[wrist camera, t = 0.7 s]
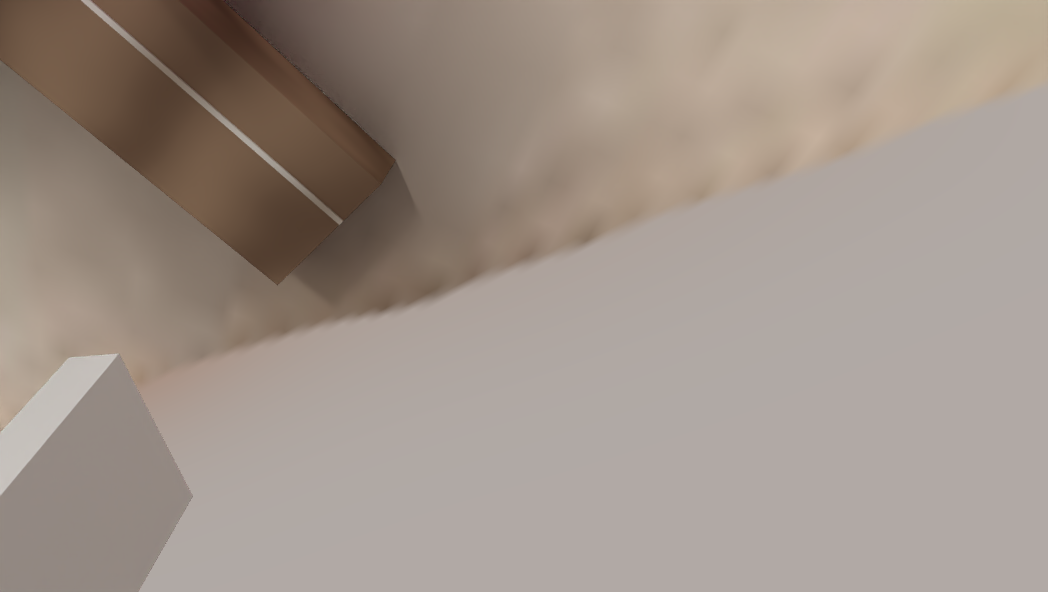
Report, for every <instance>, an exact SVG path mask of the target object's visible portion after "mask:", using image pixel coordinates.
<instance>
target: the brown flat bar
mask: <svg viewBox="0 0 1048 592" xmlns="http://www.w3.org/2000/svg"><path fill="white" fill-rule="evenodd" d="M0 60H1V61H2V62H4V63H5V64H6V65H7V66H9V67H10V68H11V69H12V70H14V71H15V72H16V73H17V74H18V75H20V76H21V77H22V78H23V79H25V80H26V81H27V82H28V83H30V84H31V85H32V86H33V87H34V88H36V89H37V90H38V91H39V92H41V93H42V94H43V95H44V96H46V97H47V98H48V99H49V100H50V101H52V102H53V103H54V104H55V105H57V106H58V107H59V108H60V109H61V110H63V111H64V112H65V113H66V114H68V115H69V116H70V117H71V118H73V119H74V120H75V121H76V122H77V123H79V124H80V125H81V126H82V127H84V128H85V129H86V130H87V131H89V132H90V133H91V134H92V135H93V136H95V137H96V138H97V139H98V140H100V141H101V142H102V143H103V144H105V145H106V146H107V147H108V148H109V149H111V150H112V151H113V152H114V153H116V154H117V155H118V156H119V157H121V158H122V159H123V160H124V161H125V162H127V163H128V164H129V165H130V166H132V167H133V168H134V169H135V170H137V171H138V172H139V173H140V174H141V175H143V176H144V177H145V178H146V179H148V180H149V181H150V182H151V183H153V184H154V185H155V186H156V187H157V188H159V189H160V190H161V191H162V192H164V193H165V194H166V195H167V196H169V197H170V198H171V199H172V200H173V201H175V202H176V203H177V204H178V205H180V206H181V207H182V208H183V209H184V210H186V211H187V212H188V213H189V214H191V215H192V216H193V217H194V218H196V219H197V220H198V221H199V222H200V223H202V224H203V225H204V226H205V227H207V228H208V229H209V230H210V231H212V232H213V233H214V234H215V235H216V236H218V237H219V238H220V239H221V240H223V241H224V242H225V243H226V244H228V245H229V246H230V247H231V248H232V249H234V250H235V251H236V252H237V253H239V254H240V255H241V256H242V257H244V258H245V259H246V260H247V261H248V262H250V263H251V264H252V265H253V266H255V267H256V268H257V269H258V270H260V271H261V272H262V273H263V274H264V275H266V276H267V277H268V278H269V279H271V280H272V281H273V282H274V283H276V284H277V285H278V284H279V283H280V282H281V281H282V280H283V279H284V278H285V277H286V276H287V275H288V274H290V273H291V272H292V271H293V270H294V269H295V268H296V267H297V266H298V265H299V264H300V263H301V262H302V261H303V260H304V259H305V258H306V257H307V256H308V255H309V254H310V253H311V252H312V251H313V250H314V249H315V248H316V247H317V246H318V245H319V244H320V243H321V242H322V241H323V240H324V239H325V238H326V237H327V236H328V235H329V234H330V233H331V232H333V231H334V230H335V229H336V228H337V227H338V226H339V225H340V224H341V223H342V222H343V221H344V220H345V219H346V218H347V217H348V216H349V215H350V214H351V213H352V212H353V211H354V210H355V209H356V208H357V207H358V206H359V205H360V204H361V203H362V202H363V201H364V200H365V199H366V198H367V197H368V196H369V195H370V194H371V193H372V192H373V191H375V190H376V189H377V188H378V187H379V186H380V185H381V183H382V182H383V180H384V178H385V177H386V175H387V173H388V172H389V170H390V169H391V167H392V165H393V164H394V162H395V160H394V159H393V158H392V157H391V156H390V155H389V154H388V153H387V152H386V151H385V150H384V149H383V148H382V147H380V146H379V145H378V144H377V143H376V142H375V141H374V140H373V139H372V138H371V137H370V136H369V135H368V134H366V133H365V132H364V131H363V130H362V129H361V128H360V127H359V126H358V125H357V124H356V123H355V122H353V121H352V120H351V119H350V118H349V117H348V116H347V115H346V114H345V113H344V112H343V111H342V110H341V109H339V108H338V107H337V106H336V105H335V104H334V103H333V102H332V101H331V100H330V99H329V98H328V97H327V96H325V95H324V94H323V93H322V92H321V91H320V90H319V89H318V88H317V87H316V86H315V85H314V84H312V83H311V82H310V81H309V80H308V79H307V78H306V77H305V76H304V75H303V74H302V73H301V72H300V71H298V70H297V69H296V68H295V67H294V66H293V65H292V64H291V63H290V62H289V61H288V60H287V59H285V58H284V57H283V56H282V55H281V54H280V53H279V52H278V51H277V50H276V49H275V48H274V47H273V46H271V45H270V44H269V43H268V42H267V41H266V40H265V39H264V38H263V37H262V36H261V35H260V34H259V33H257V32H256V31H255V30H254V29H253V28H252V27H251V26H250V25H249V24H248V23H247V22H246V21H244V20H243V19H242V18H241V17H240V16H239V15H238V14H237V13H236V12H235V11H234V10H233V9H232V8H230V7H229V6H228V5H227V4H226V3H225V2H224V1H223V0H0Z"/></svg>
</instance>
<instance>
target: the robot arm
mask: <svg viewBox="0 0 1048 592" xmlns="http://www.w3.org/2000/svg"><path fill="white" fill-rule="evenodd" d="M192 497H193V496H192V493H191V492H190V490H189V488H188V486H187V484H186V482H185V480H184V478H183V476H182V474H181V472H180V470H179V468H178V466H177V464H176V463H175V461H174V459H173V457H172V455H171V453H170V451H169V449H168V447H167V445H166V443H165V441H164V439H163V437H162V436H161V434H160V432H159V430H158V428H157V426H156V424H155V422H154V420H153V419H152V416H151V414H150V412H149V410H148V408H147V407H146V405H145V403H144V401H143V399H142V397H141V395H140V393H139V391H138V389H137V387H136V385H135V383H134V381H133V379H132V378H131V376H130V374H129V372H128V370H127V368H126V366H125V364H124V362H123V360H122V358H121V356H120V354H107V355H94V356H82V357H69V358H68V359H67V360H66V361H65V362H64V363H63V365H62V366H61V367H60V368H59V369H58V370H57V371H56V372H55V373H54V374H53V376H52V377H51V378H50V379H49V380H48V381H47V382H46V383H45V384H44V385H43V386H42V388H41V389H40V390H39V391H38V392H37V393H36V394H35V395H34V396H33V397H32V398H31V400H30V401H29V402H28V403H27V404H26V405H25V406H24V407H23V408H22V409H21V411H20V412H19V413H18V414H17V415H16V416H15V417H14V418H13V419H12V420H11V421H10V423H9V424H8V425H7V426H6V427H5V428H4V429H3V430H2V431H1V432H0V592H138V591H139V590H140V588H141V586H142V584H143V582H144V581H145V579H146V577H147V576H148V574H149V572H150V570H151V569H152V567H153V565H154V563H155V562H156V560H157V558H158V556H159V555H160V553H161V551H162V549H163V547H164V546H165V544H166V542H167V540H168V539H169V537H170V535H171V533H172V531H173V530H174V528H175V527H176V524H177V523H178V521H179V519H180V518H181V516H182V514H183V512H184V511H185V509H186V507H187V506H188V504H189V502H190V500H191V499H192Z"/></svg>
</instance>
